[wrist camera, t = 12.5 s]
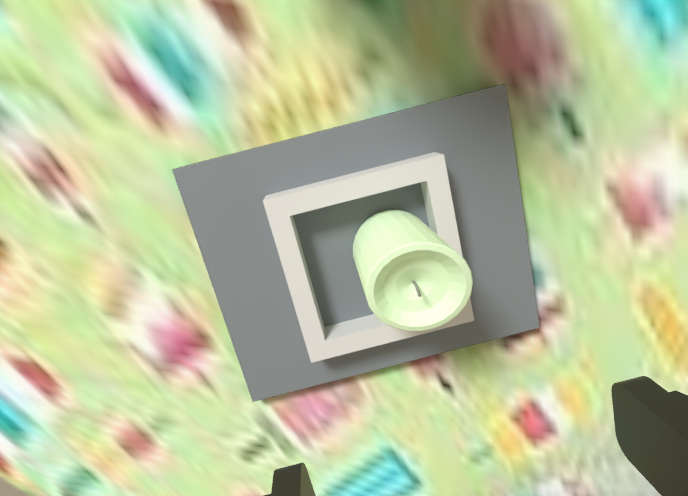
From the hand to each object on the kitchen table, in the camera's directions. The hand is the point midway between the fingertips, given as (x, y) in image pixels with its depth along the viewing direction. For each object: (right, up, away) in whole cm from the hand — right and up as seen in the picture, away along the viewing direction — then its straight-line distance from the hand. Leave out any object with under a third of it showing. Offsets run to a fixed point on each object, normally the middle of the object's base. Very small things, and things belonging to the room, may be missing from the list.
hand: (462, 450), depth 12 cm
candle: (0, +5, +17) cm, 18 cm away
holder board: (-1, +5, +18) cm, 19 cm away
